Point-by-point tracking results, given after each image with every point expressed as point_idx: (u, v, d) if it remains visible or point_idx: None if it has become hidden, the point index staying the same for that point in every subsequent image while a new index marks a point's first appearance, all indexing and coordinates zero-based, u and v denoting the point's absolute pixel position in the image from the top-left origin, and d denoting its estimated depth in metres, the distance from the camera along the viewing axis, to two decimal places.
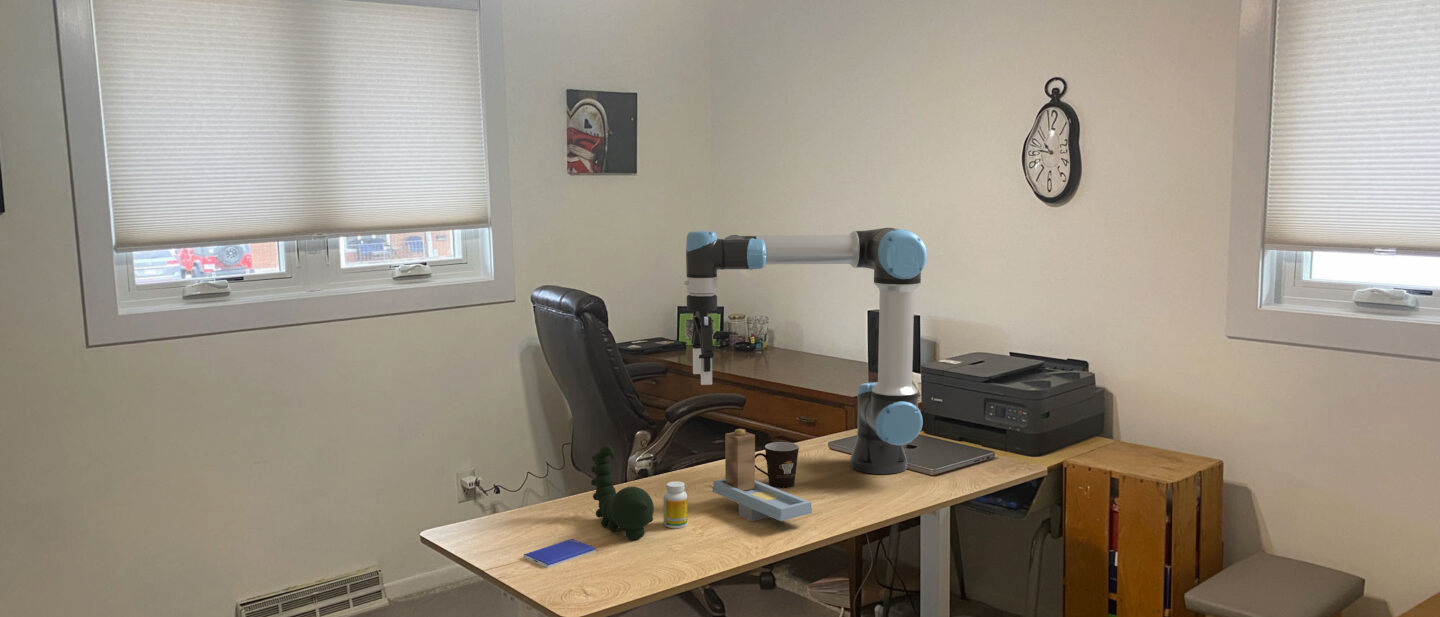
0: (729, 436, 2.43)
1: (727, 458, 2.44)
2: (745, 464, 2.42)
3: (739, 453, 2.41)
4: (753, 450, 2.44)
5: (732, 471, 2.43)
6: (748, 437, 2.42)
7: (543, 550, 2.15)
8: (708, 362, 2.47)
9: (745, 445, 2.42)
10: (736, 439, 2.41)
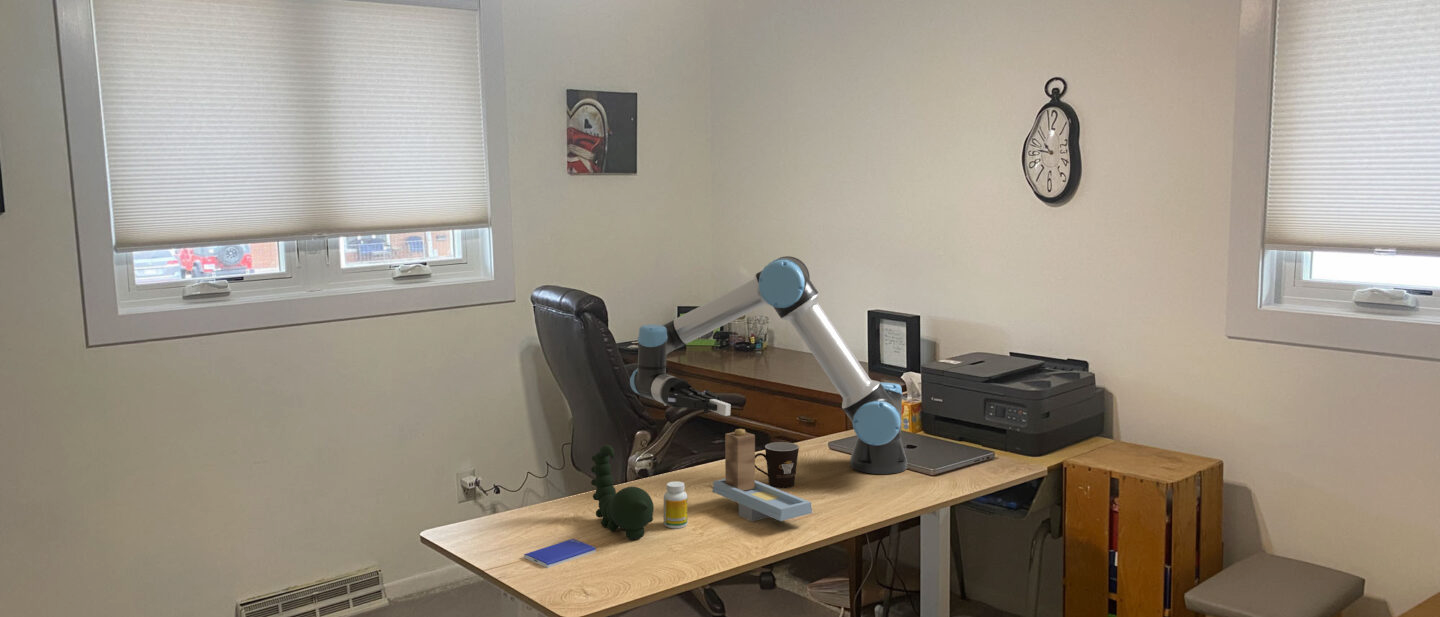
0: (729, 436, 2.43)
1: (727, 458, 2.44)
2: (745, 464, 2.42)
3: (739, 453, 2.41)
4: (753, 450, 2.44)
5: (732, 471, 2.43)
6: (748, 437, 2.42)
7: (543, 550, 2.15)
8: (707, 405, 2.51)
9: (745, 445, 2.42)
10: (736, 439, 2.41)
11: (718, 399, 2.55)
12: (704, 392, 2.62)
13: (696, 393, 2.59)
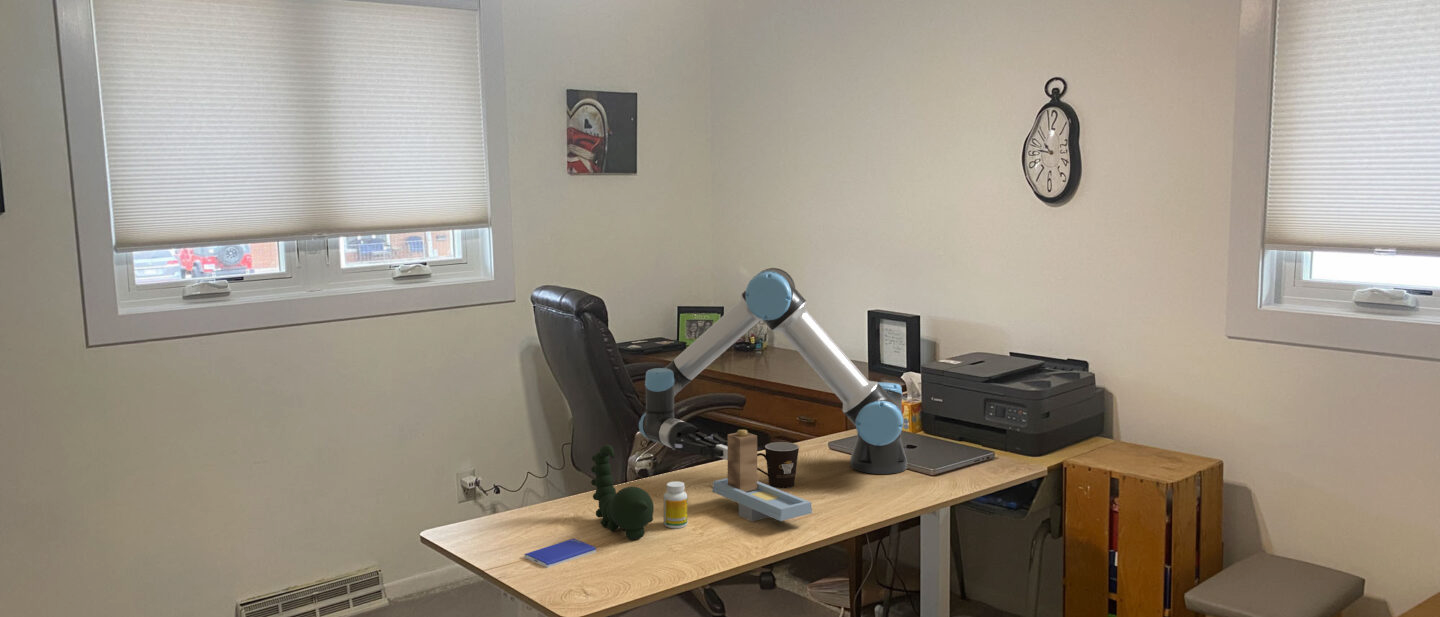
0: (731, 437, 2.42)
1: (729, 459, 2.44)
2: (747, 465, 2.42)
3: (741, 454, 2.40)
4: (755, 451, 2.43)
5: (735, 472, 2.42)
6: (750, 438, 2.42)
7: (543, 550, 2.15)
8: (714, 450, 2.49)
9: (747, 445, 2.41)
10: (738, 440, 2.40)
11: (725, 444, 2.53)
12: (712, 436, 2.61)
13: (703, 438, 2.57)
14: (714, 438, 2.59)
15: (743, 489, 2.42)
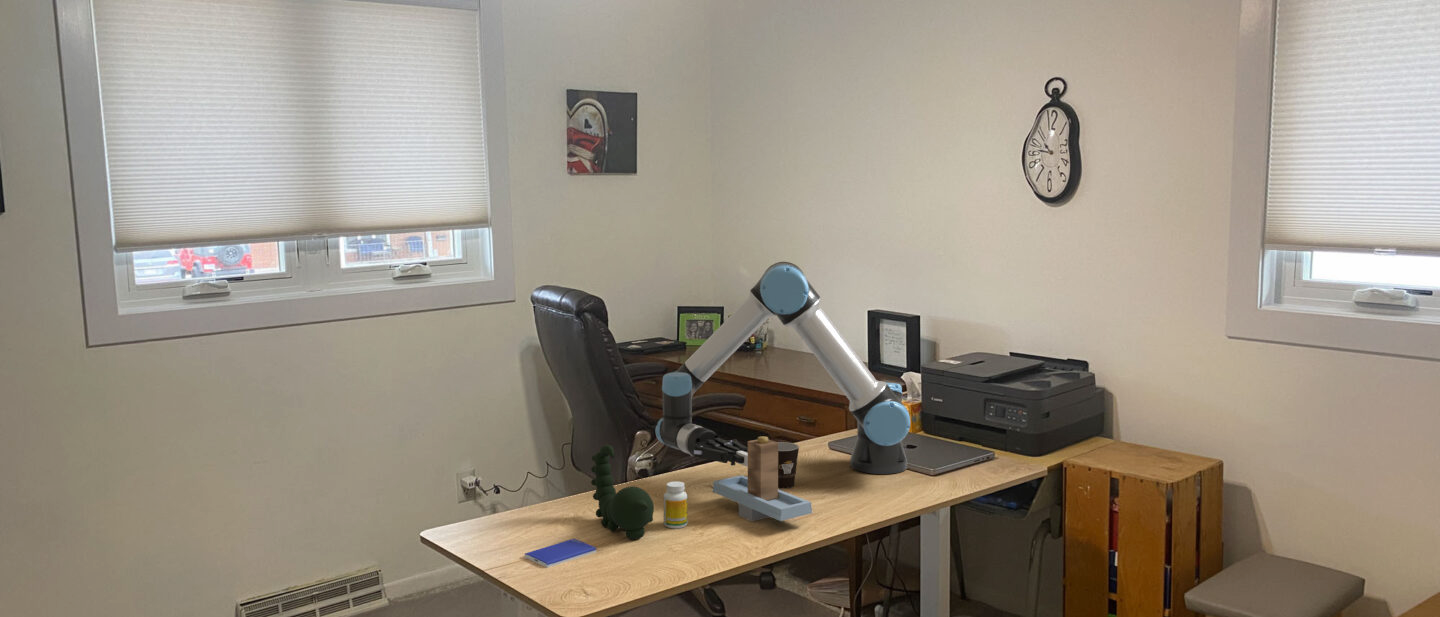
0: (752, 444, 2.36)
1: (750, 466, 2.37)
2: (768, 472, 2.35)
3: (762, 462, 2.34)
4: (776, 458, 2.36)
5: (755, 480, 2.36)
6: (771, 445, 2.35)
7: (544, 549, 2.15)
8: (734, 457, 2.43)
9: (768, 453, 2.35)
10: (759, 447, 2.34)
11: (745, 450, 2.47)
12: (731, 442, 2.54)
13: (723, 444, 2.51)
14: (734, 444, 2.53)
15: (764, 497, 2.35)
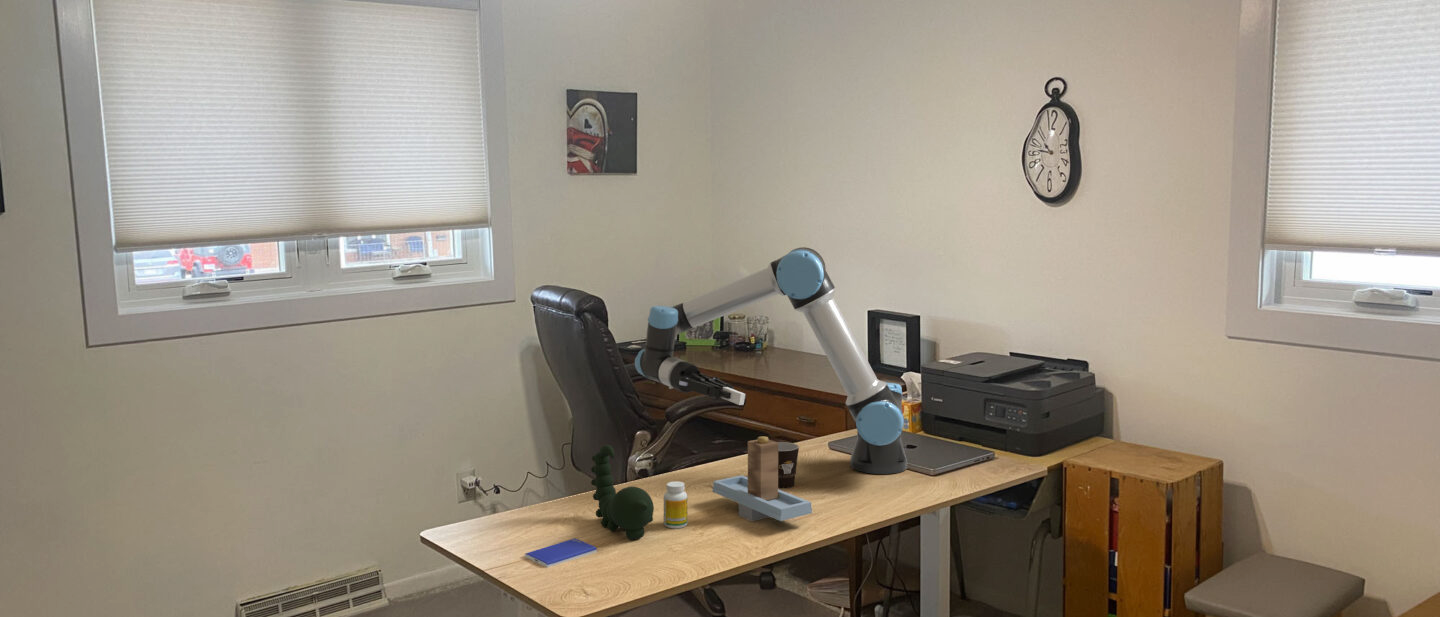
0: (752, 444, 2.36)
1: (750, 466, 2.37)
2: (768, 472, 2.35)
3: (762, 462, 2.34)
4: (776, 458, 2.36)
5: (755, 480, 2.36)
6: (771, 445, 2.35)
7: (544, 549, 2.15)
8: (721, 392, 2.49)
9: (768, 453, 2.35)
10: (759, 447, 2.34)
11: (730, 388, 2.53)
12: (714, 379, 2.60)
13: (707, 379, 2.57)
14: (717, 381, 2.59)
15: (764, 497, 2.35)
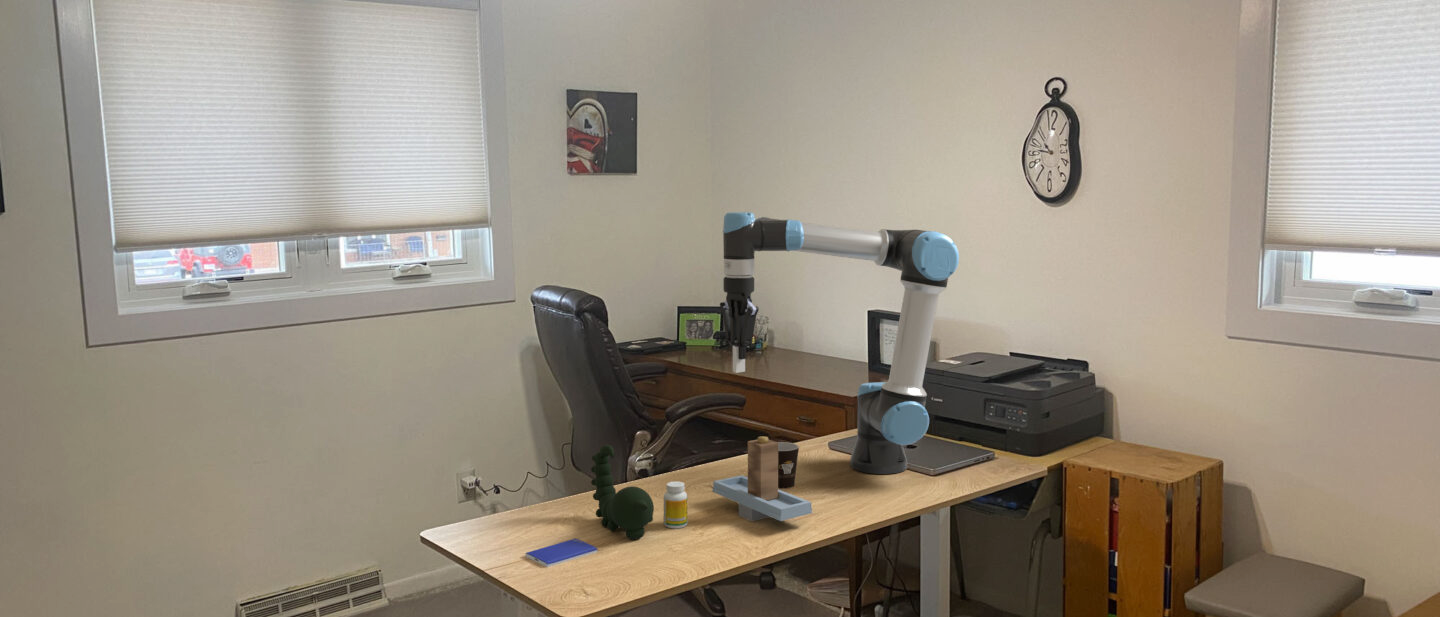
0: (752, 444, 2.36)
1: (750, 466, 2.37)
2: (768, 472, 2.35)
3: (762, 462, 2.34)
4: (776, 458, 2.36)
5: (755, 480, 2.36)
6: (771, 445, 2.35)
7: (545, 549, 2.15)
8: (744, 350, 2.51)
9: (768, 453, 2.35)
10: (759, 447, 2.34)
11: None
12: None
13: None
14: None
15: (764, 497, 2.35)
